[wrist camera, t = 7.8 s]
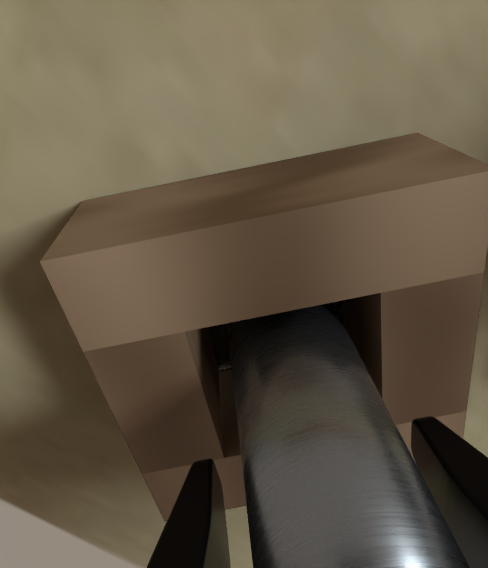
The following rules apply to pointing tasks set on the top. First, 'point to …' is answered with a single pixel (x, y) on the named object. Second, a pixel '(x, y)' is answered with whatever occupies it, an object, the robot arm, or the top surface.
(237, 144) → the top surface
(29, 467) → the top surface
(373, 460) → the cylinder
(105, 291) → the socket block
